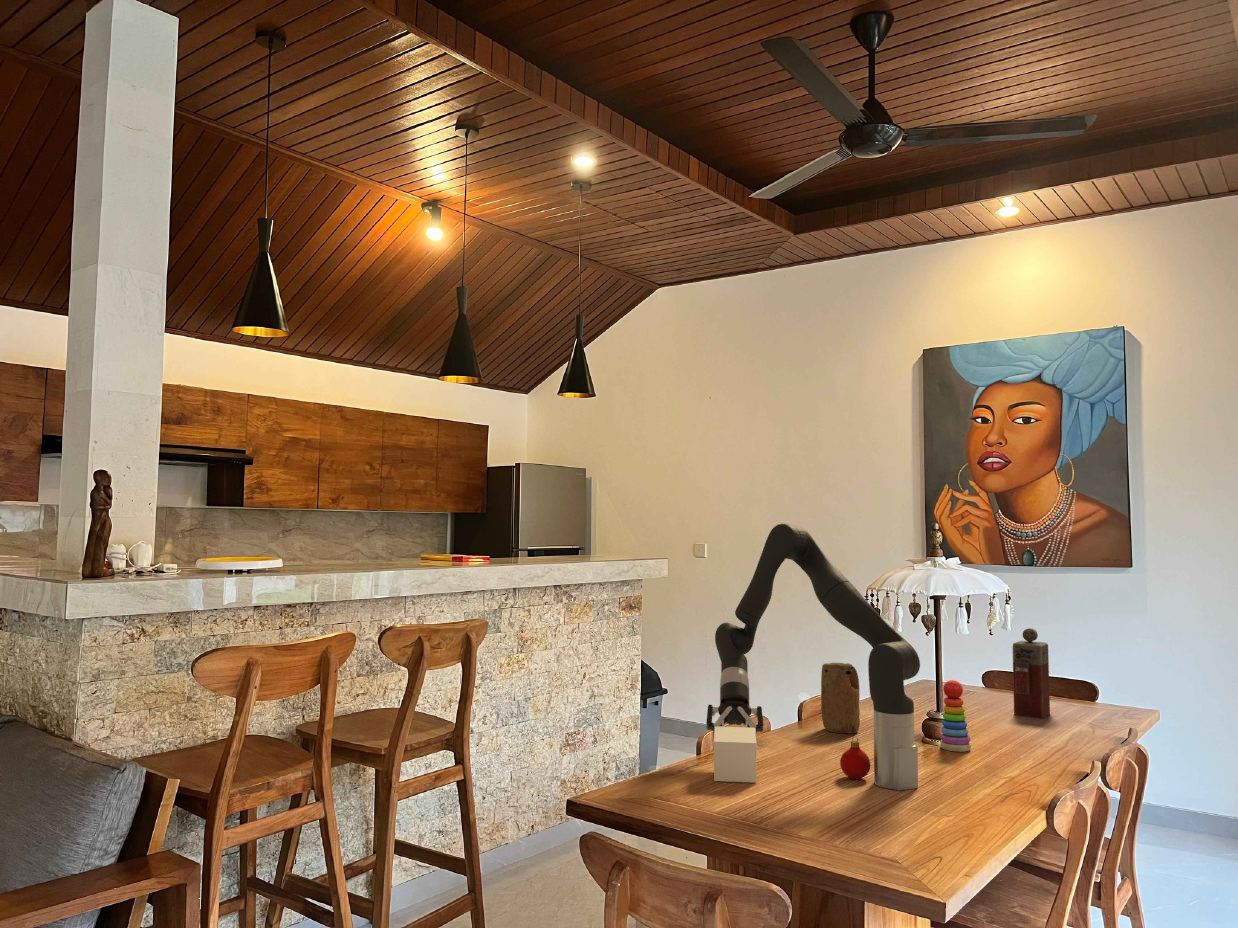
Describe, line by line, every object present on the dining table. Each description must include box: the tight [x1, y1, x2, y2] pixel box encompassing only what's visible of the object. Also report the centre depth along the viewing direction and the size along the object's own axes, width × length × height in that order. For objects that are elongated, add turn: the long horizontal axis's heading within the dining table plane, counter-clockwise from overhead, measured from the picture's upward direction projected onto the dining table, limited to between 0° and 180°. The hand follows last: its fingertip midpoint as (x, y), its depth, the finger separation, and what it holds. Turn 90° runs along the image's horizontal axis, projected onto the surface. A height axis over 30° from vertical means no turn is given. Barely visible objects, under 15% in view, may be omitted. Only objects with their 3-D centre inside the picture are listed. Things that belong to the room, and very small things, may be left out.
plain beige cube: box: [713, 726, 757, 784], centre depth 217 cm, size 10×10×10 cm
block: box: [820, 662, 861, 735], centre depth 268 cm, size 11×8×20 cm
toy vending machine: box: [1012, 627, 1051, 719], centre depth 294 cm, size 9×11×28 cm
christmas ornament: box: [839, 736, 871, 780], centre depth 217 cm, size 7×7×10 cm
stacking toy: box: [939, 679, 972, 753], centre depth 247 cm, size 8×8×19 cm
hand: (734, 743), depth 222 cm, fingers open, 8 cm apart
